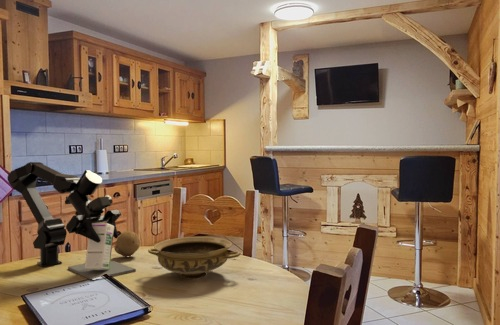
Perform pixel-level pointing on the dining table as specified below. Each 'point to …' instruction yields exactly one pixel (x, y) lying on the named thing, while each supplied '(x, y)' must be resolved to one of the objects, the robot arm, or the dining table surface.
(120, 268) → the rubber mat
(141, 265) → the dining table surface
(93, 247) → the syrup box
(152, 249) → the ceramic bowl
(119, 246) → the natural sponge
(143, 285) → the dining table surface
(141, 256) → the dining table surface
